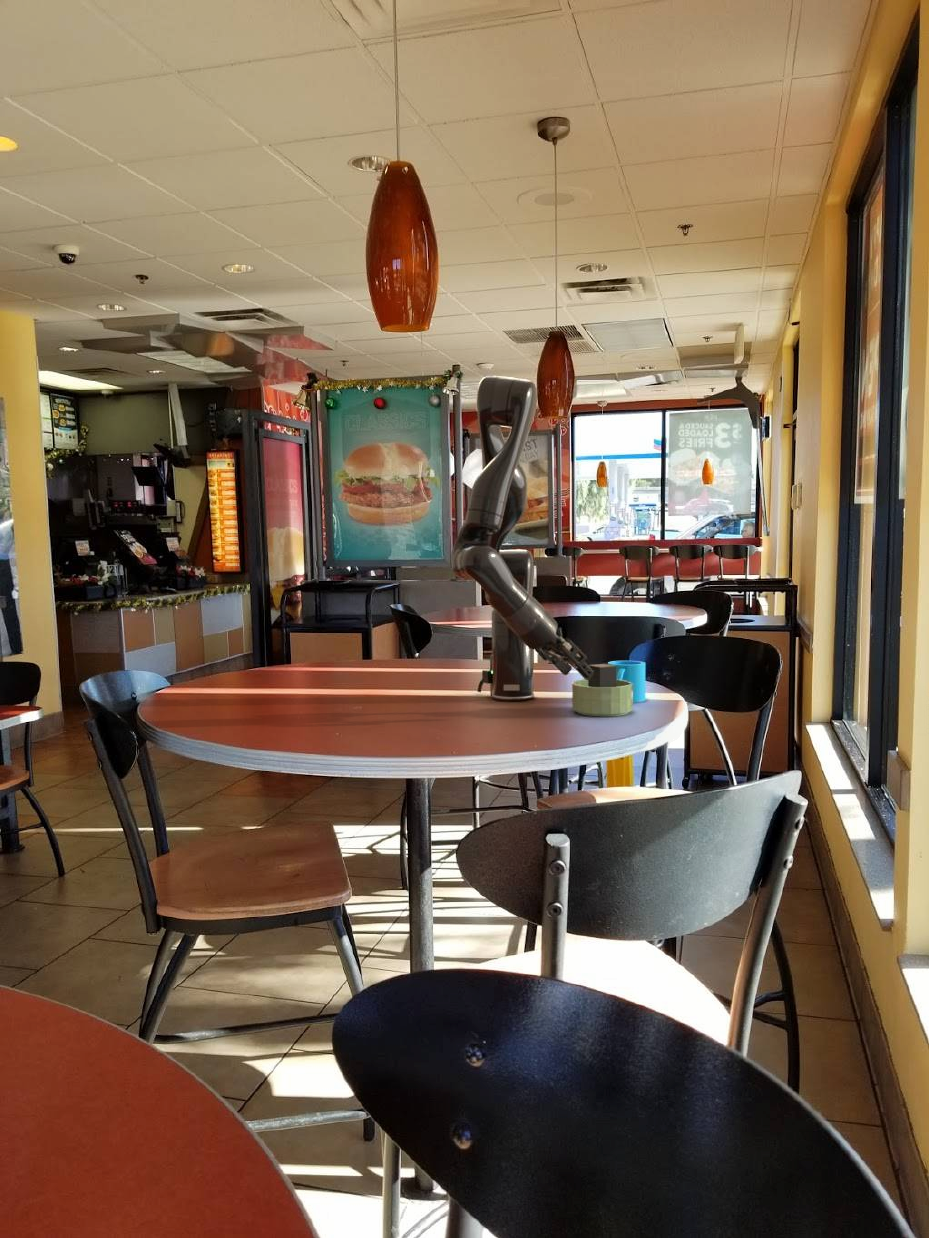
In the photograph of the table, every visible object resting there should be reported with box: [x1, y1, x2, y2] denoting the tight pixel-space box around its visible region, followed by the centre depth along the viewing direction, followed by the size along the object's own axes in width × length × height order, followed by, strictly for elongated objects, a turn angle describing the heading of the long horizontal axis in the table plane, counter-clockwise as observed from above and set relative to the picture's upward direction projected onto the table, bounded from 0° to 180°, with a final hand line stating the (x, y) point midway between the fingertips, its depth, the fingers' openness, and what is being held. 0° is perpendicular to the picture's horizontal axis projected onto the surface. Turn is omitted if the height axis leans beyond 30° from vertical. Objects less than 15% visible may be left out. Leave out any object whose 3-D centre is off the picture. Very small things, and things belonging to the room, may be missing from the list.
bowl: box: [571, 678, 634, 718], centre depth 190 cm, size 12×12×6 cm
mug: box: [607, 660, 646, 704], centre depth 202 cm, size 12×8×8 cm
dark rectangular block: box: [587, 663, 617, 687], centre depth 189 cm, size 4×4×9 cm
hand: (579, 674), depth 187 cm, fingers open, 8 cm apart
